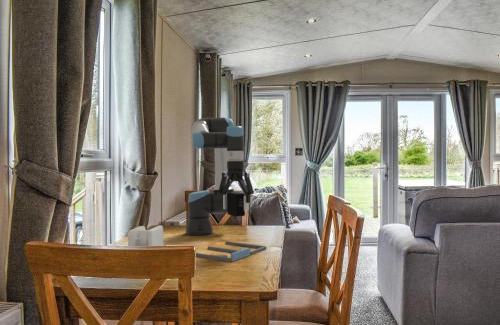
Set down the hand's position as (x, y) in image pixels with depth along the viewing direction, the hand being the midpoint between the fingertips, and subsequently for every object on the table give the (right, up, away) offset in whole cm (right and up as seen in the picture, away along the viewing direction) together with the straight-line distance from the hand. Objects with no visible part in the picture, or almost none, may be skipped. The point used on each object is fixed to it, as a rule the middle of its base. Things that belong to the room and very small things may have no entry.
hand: (235, 209), depth 174 cm
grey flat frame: (-3, -18, -6) cm, 19 cm away
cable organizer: (-38, -18, -9) cm, 43 cm away
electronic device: (0, -3, 0) cm, 3 cm away
